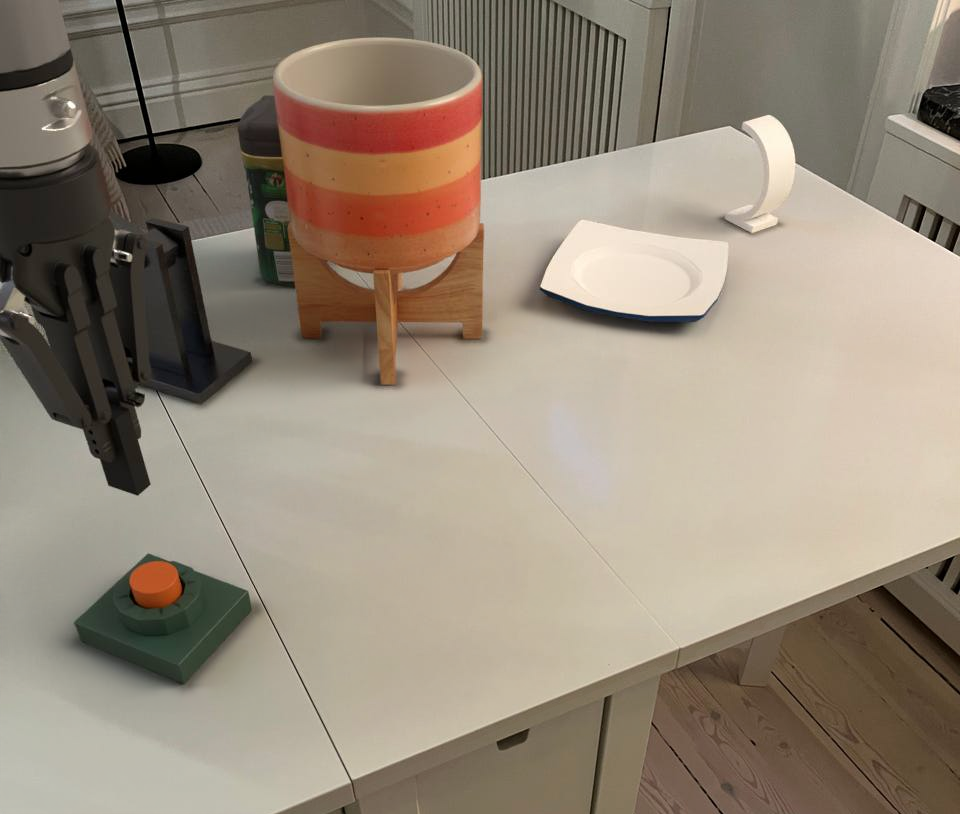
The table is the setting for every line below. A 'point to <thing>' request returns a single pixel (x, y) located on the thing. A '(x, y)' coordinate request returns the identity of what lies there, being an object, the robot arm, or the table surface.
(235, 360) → the bracket
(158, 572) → the button
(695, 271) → the plate
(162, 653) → the control block
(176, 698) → the table surface
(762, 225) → the headphone stand
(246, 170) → the coffee jar
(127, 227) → the lever
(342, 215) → the planter
